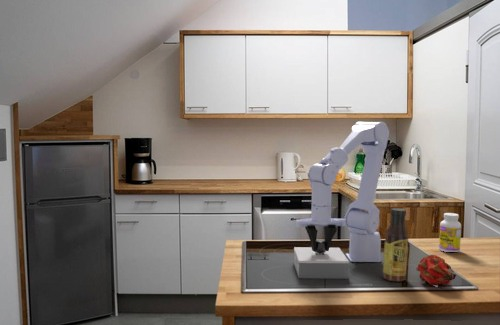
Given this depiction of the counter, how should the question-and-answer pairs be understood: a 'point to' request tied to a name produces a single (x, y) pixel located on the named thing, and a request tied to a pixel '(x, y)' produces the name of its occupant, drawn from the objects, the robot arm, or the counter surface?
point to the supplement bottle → (450, 233)
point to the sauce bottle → (396, 247)
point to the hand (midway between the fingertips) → (320, 250)
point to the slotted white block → (321, 263)
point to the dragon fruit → (435, 270)
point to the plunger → (320, 246)
